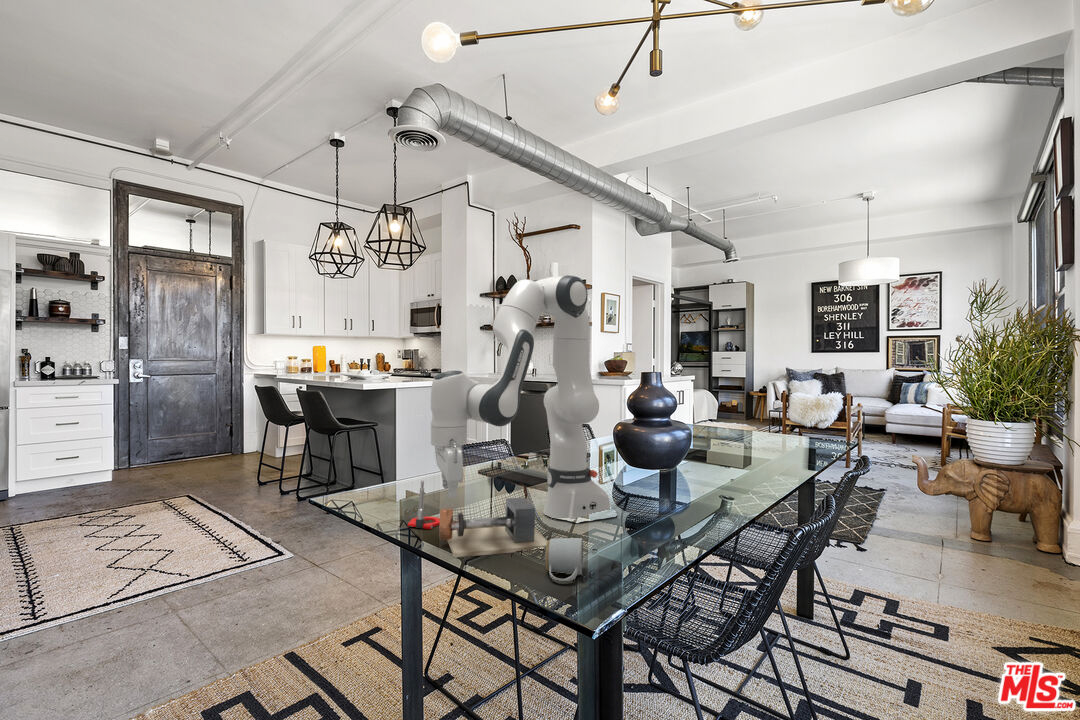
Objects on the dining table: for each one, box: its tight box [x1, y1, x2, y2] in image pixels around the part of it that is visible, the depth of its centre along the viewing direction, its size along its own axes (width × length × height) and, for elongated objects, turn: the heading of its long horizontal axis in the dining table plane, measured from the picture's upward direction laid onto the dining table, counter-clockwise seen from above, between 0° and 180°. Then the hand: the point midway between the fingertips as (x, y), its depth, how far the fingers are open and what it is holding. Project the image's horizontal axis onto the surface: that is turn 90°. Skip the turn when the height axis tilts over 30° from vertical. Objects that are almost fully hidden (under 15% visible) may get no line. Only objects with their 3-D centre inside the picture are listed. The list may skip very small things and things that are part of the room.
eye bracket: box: [504, 497, 536, 543], centre depth 137 cm, size 5×10×8 cm, turn 18°
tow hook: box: [407, 480, 440, 530], centre depth 148 cm, size 8×13×9 cm
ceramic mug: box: [544, 537, 584, 581], centre depth 116 cm, size 11×8×8 cm
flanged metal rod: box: [438, 507, 514, 541], centre depth 134 cm, size 19×6×7 cm, turn 108°
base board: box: [446, 526, 548, 559], centre depth 135 cm, size 24×16×1 cm, turn 108°
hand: (449, 492), depth 131 cm, fingers open, 8 cm apart
